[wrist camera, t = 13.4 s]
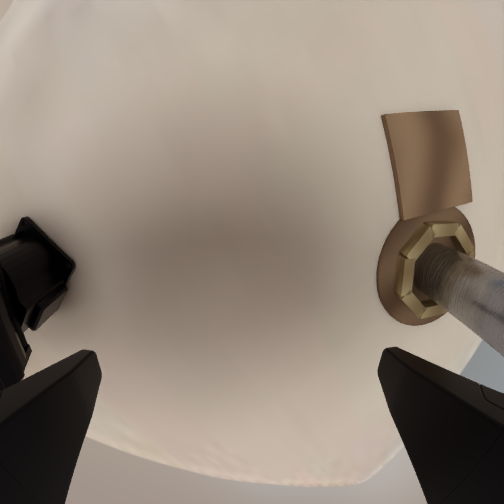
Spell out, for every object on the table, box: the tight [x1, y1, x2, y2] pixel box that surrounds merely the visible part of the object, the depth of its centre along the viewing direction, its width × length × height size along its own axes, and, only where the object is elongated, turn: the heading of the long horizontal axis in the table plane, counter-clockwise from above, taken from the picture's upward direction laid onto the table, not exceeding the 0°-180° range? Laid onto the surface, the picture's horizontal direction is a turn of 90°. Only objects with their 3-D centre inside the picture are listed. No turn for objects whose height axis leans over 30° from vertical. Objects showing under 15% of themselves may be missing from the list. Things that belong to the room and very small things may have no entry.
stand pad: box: [381, 110, 472, 220], centre depth 19 cm, size 8×8×1 cm
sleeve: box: [413, 243, 504, 357], centre depth 15 cm, size 4×4×13 cm
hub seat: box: [377, 207, 475, 326], centre depth 21 cm, size 11×11×2 cm
